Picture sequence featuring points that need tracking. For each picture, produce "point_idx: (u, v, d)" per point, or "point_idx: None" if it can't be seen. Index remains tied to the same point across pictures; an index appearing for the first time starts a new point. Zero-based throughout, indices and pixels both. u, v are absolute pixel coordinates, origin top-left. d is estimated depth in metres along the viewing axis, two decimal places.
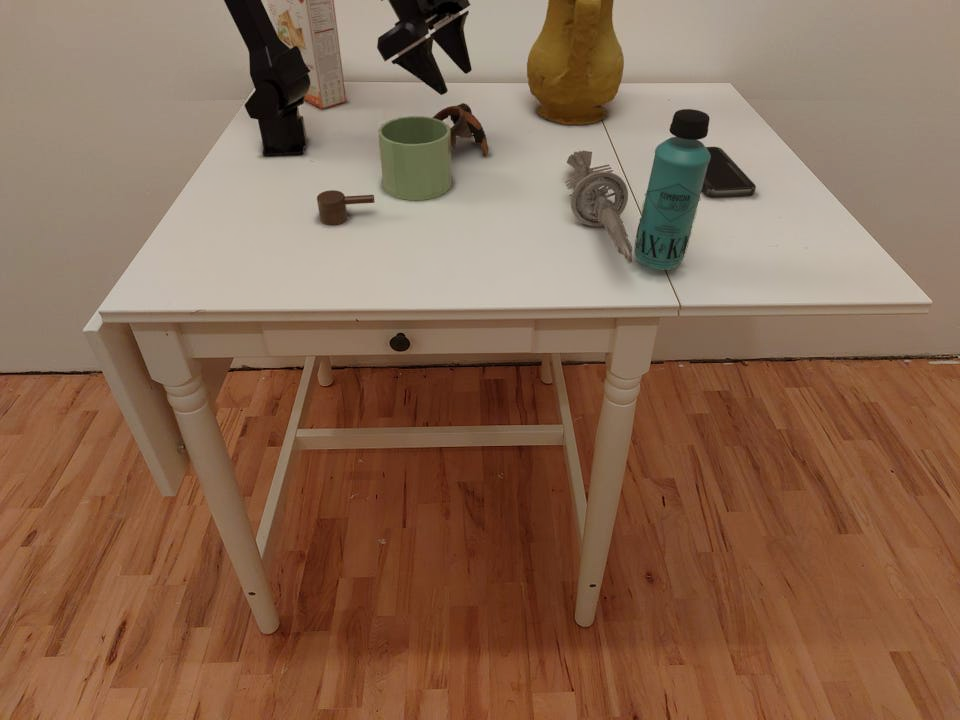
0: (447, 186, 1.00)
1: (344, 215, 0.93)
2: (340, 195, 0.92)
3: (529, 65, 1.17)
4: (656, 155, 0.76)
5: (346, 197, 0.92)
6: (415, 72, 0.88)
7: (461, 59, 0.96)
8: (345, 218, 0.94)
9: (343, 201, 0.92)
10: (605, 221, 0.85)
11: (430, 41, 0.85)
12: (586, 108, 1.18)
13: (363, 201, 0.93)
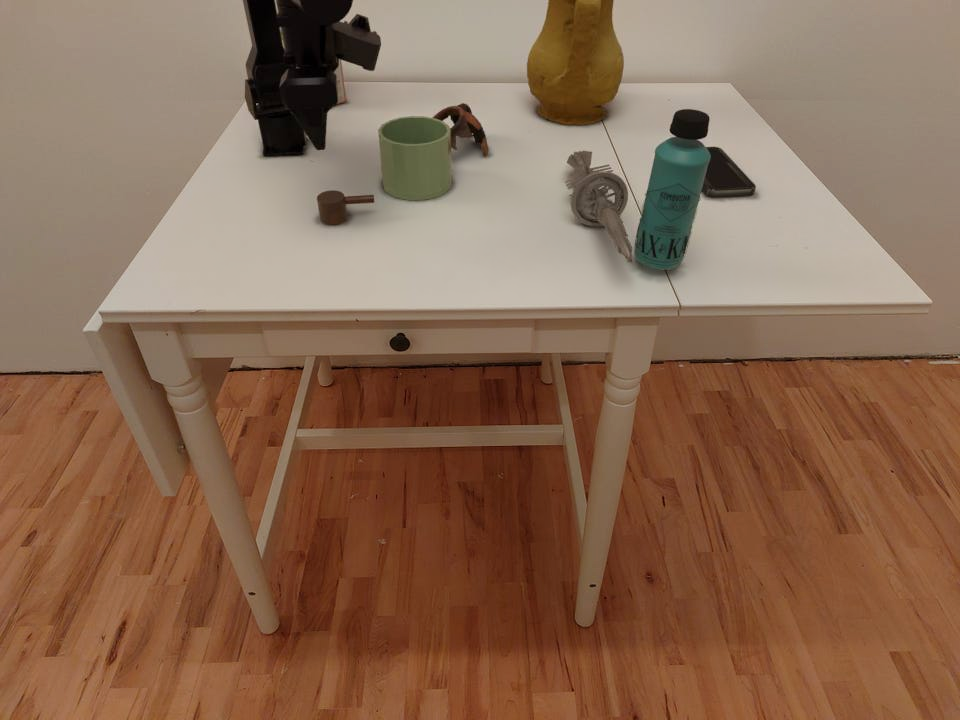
0: (447, 186, 1.00)
1: (344, 215, 0.93)
2: (340, 195, 0.92)
3: (529, 65, 1.17)
4: (656, 155, 0.76)
5: (346, 197, 0.92)
6: (302, 121, 0.79)
7: None
8: (345, 218, 0.94)
9: (343, 201, 0.92)
10: (605, 221, 0.85)
11: None
12: (586, 108, 1.18)
13: (363, 201, 0.93)
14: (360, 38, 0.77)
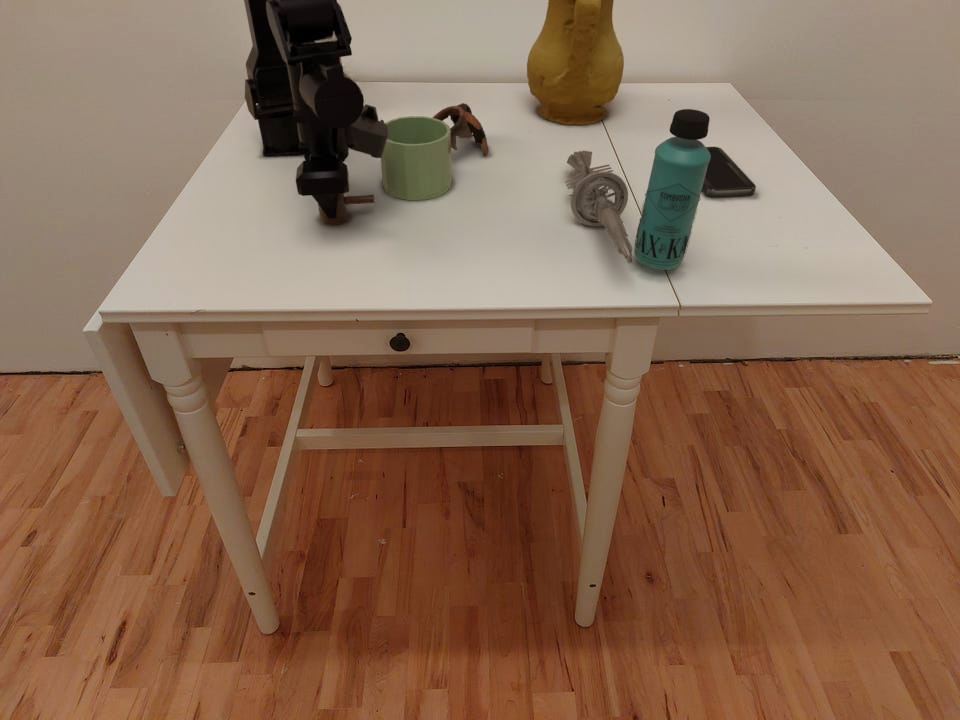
0: (447, 186, 1.00)
1: (344, 215, 0.93)
2: (340, 195, 0.92)
3: (529, 65, 1.17)
4: (656, 155, 0.76)
5: (346, 197, 0.92)
6: (316, 195, 0.88)
7: None
8: (345, 218, 0.94)
9: (343, 201, 0.92)
10: (605, 221, 0.85)
11: None
12: (586, 108, 1.18)
13: (363, 201, 0.93)
14: (369, 130, 0.85)
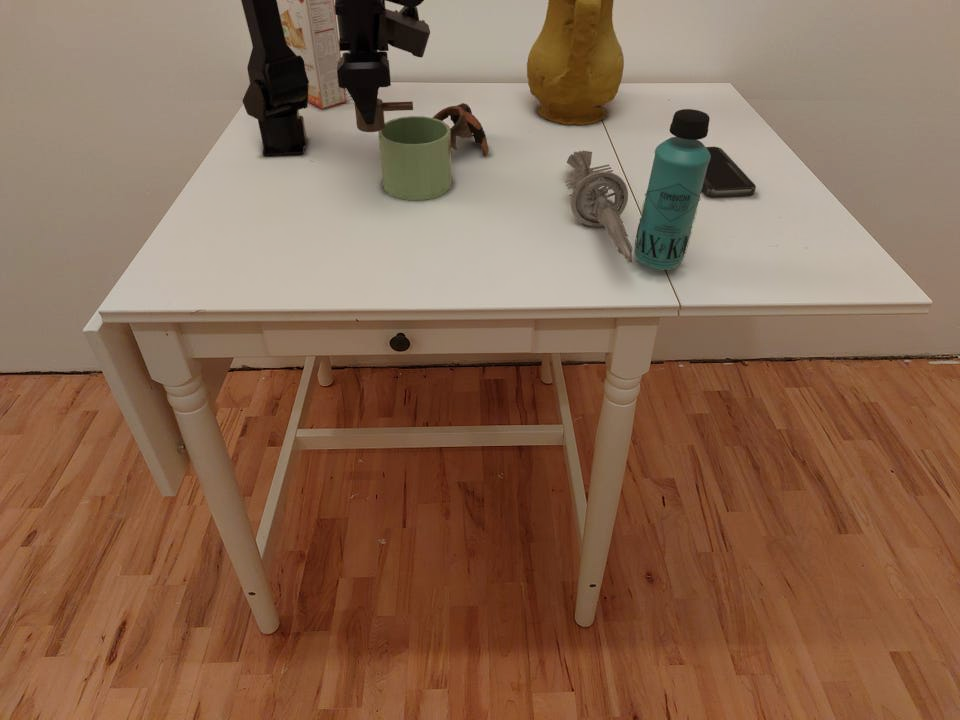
0: (447, 186, 1.00)
1: (382, 122, 0.91)
2: (378, 101, 0.90)
3: (529, 65, 1.17)
4: (656, 155, 0.76)
5: (384, 103, 0.90)
6: (355, 96, 0.86)
7: None
8: (382, 126, 0.91)
9: (381, 107, 0.89)
10: (605, 221, 0.85)
11: None
12: (586, 107, 1.18)
13: (401, 107, 0.90)
14: (411, 26, 0.82)
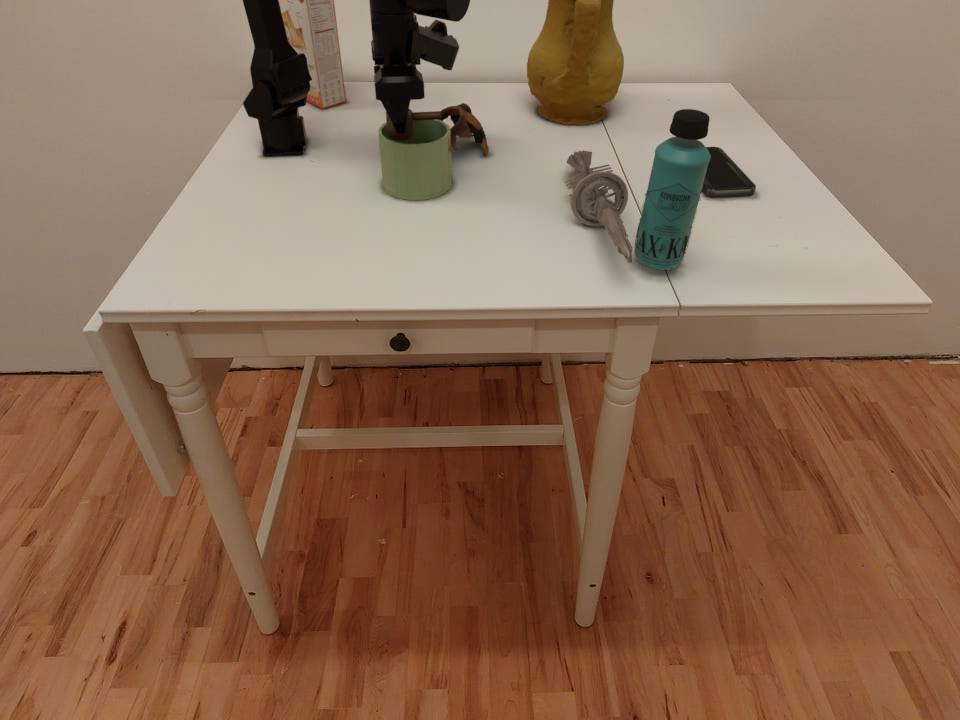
0: (447, 186, 1.00)
1: (411, 131, 0.96)
2: (408, 111, 0.95)
3: (529, 65, 1.17)
4: (656, 155, 0.76)
5: (414, 113, 0.95)
6: (388, 107, 0.91)
7: None
8: (412, 134, 0.96)
9: (411, 116, 0.95)
10: (605, 221, 0.85)
11: None
12: (586, 108, 1.18)
13: (430, 117, 0.95)
14: (442, 41, 0.87)
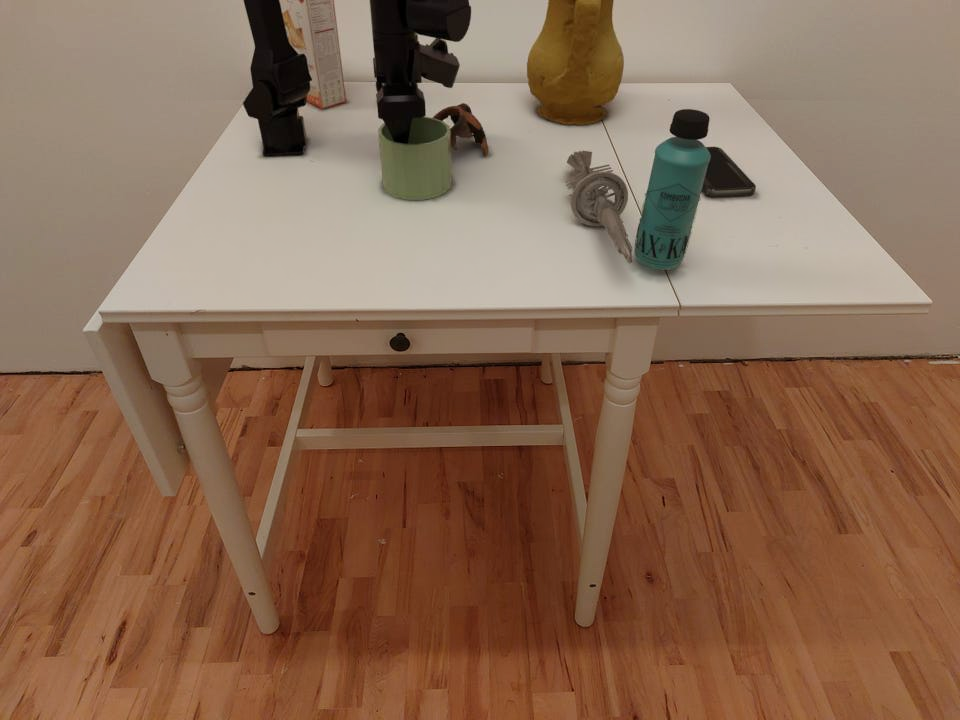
0: (447, 186, 1.00)
1: None
2: None
3: (529, 65, 1.17)
4: (656, 155, 0.76)
5: None
6: (390, 126, 0.92)
7: None
8: None
9: None
10: (605, 221, 0.85)
11: None
12: (586, 108, 1.18)
13: None
14: (442, 60, 0.89)
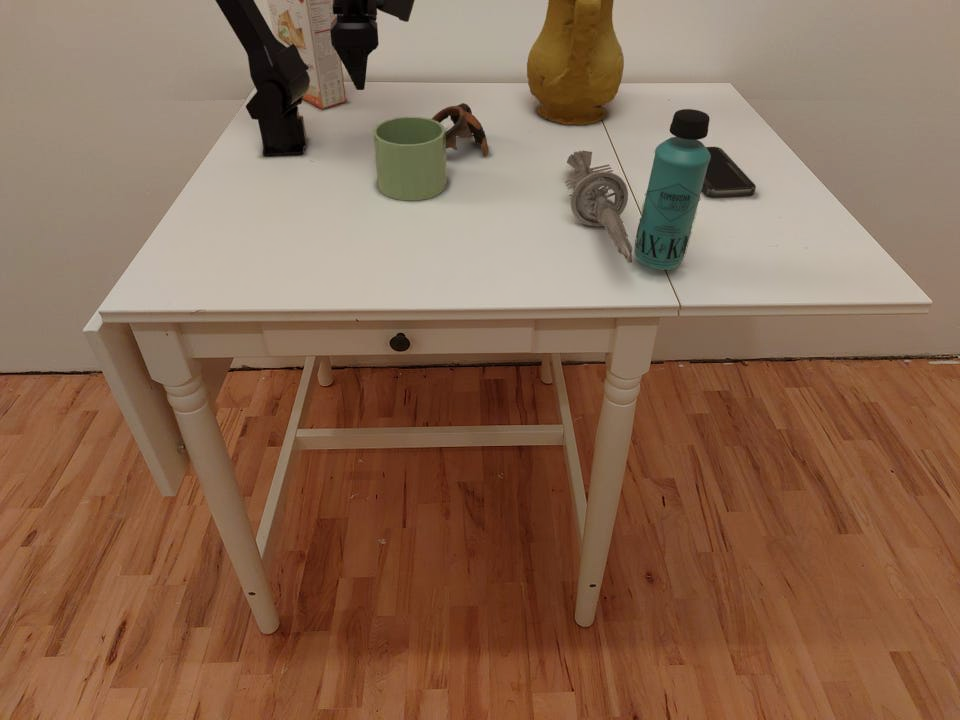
0: (442, 186, 1.00)
1: None
2: None
3: (529, 65, 1.17)
4: (656, 155, 0.76)
5: None
6: (346, 63, 0.93)
7: None
8: None
9: None
10: (605, 221, 0.85)
11: None
12: (586, 108, 1.18)
13: None
14: None
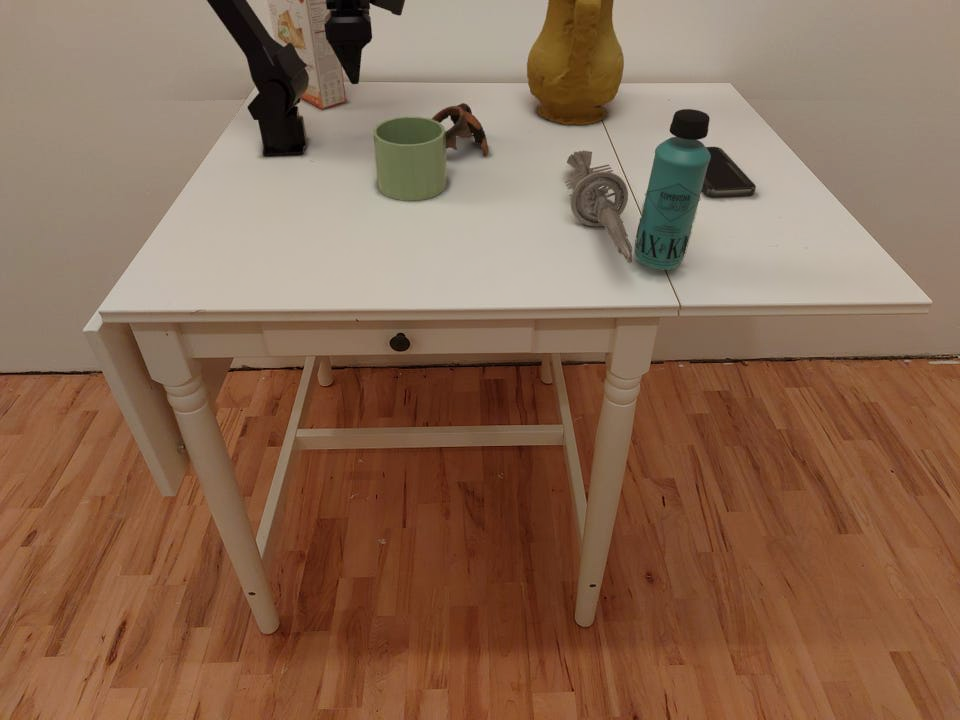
0: (442, 186, 1.00)
1: None
2: None
3: (529, 65, 1.17)
4: (656, 155, 0.76)
5: None
6: (340, 57, 0.94)
7: None
8: None
9: None
10: (605, 221, 0.85)
11: None
12: (586, 107, 1.18)
13: None
14: None
